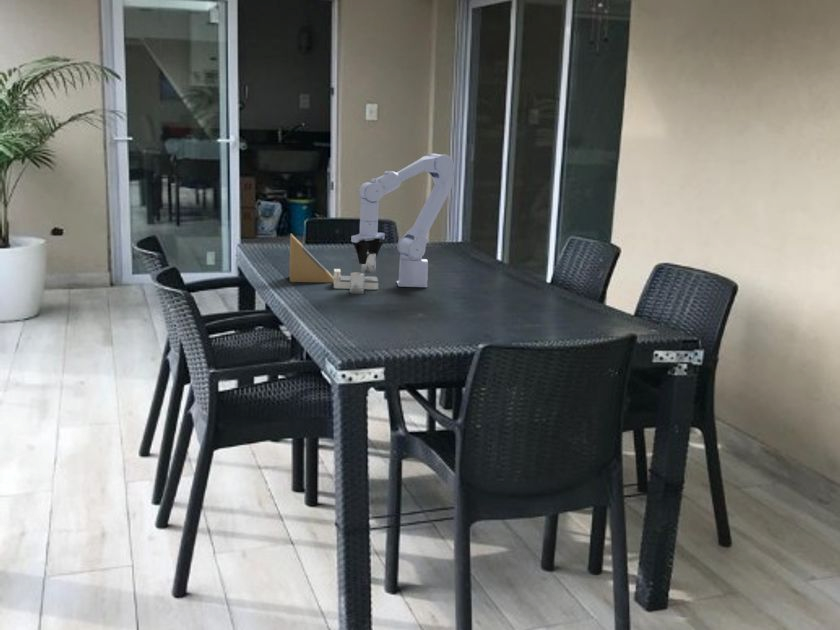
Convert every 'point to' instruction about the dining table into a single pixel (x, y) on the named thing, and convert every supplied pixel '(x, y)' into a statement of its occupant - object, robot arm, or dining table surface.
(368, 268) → the steel weight
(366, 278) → the grey boxy piece
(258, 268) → the dining table surface
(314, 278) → the sandwich container
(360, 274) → the cylinder
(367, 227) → the robot arm
